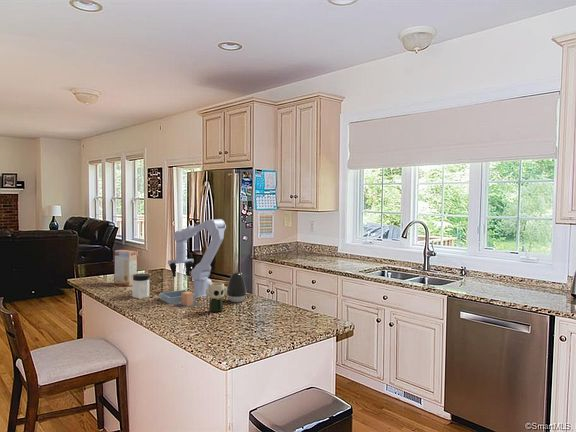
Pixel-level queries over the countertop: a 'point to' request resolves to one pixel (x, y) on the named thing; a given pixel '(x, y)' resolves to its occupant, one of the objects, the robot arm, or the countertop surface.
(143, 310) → the countertop surface
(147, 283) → the jar
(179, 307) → the mat
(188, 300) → the block
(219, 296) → the character mug
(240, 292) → the dark grey dome figure
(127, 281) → the cracker box
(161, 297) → the bin
